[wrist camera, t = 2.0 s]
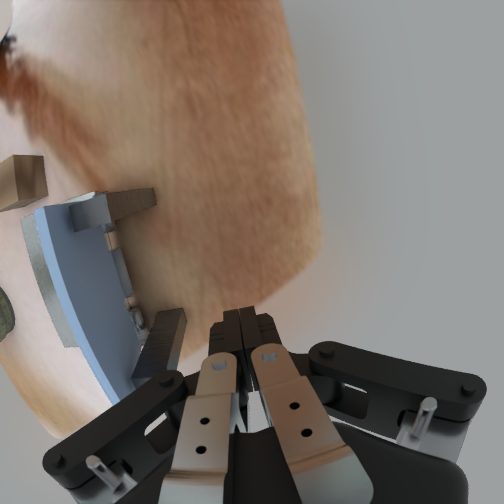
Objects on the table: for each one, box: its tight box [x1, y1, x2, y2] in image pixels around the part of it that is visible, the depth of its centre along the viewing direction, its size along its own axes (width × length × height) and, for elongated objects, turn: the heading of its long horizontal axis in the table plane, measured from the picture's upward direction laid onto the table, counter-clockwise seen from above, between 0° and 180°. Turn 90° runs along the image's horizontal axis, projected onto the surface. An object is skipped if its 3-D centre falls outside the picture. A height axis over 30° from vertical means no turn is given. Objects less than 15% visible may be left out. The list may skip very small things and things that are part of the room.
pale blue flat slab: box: [34, 201, 141, 406], centre depth 20 cm, size 16×14×2 cm
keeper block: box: [0, 155, 49, 212], centre depth 21 cm, size 5×5×6 cm
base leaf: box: [20, 188, 187, 389], centre depth 22 cm, size 18×19×12 cm
